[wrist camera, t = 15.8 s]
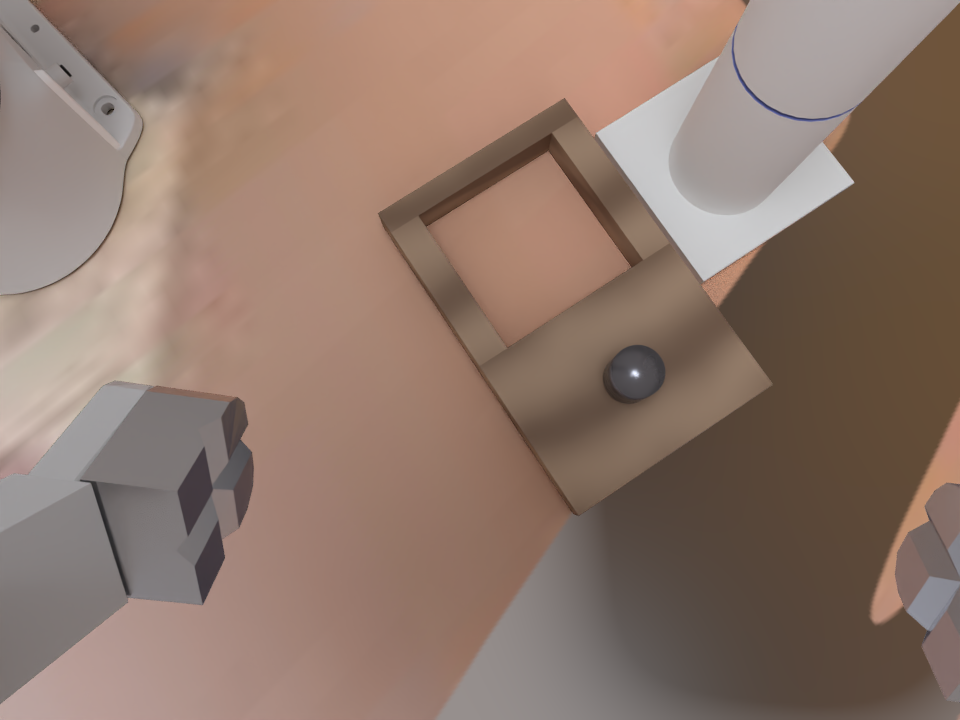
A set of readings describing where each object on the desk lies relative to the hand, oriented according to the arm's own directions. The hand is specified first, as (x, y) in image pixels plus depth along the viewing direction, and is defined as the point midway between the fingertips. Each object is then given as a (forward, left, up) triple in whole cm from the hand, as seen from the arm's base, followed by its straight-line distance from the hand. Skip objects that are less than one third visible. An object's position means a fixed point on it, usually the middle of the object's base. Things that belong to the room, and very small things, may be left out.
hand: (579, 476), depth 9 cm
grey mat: (-10, +24, -37) cm, 45 cm away
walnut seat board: (-7, +10, -37) cm, 39 cm away
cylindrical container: (-9, +23, -37) cm, 45 cm away
